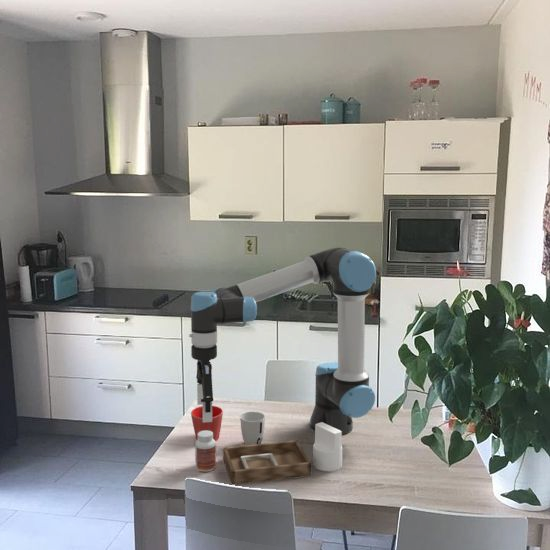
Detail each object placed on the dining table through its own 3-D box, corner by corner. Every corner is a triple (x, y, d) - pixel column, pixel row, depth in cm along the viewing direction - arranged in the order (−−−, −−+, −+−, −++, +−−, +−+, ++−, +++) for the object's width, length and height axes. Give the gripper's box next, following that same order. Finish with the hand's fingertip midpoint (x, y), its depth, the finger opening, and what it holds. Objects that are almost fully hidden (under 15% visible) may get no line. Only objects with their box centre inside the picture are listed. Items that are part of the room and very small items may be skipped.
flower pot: (185, 443, 205) (185, 415, 203) (200, 429, 215) (199, 403, 213) (214, 447, 201) (214, 419, 200) (228, 434, 212) (227, 407, 210)
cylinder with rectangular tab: (306, 463, 192) (307, 426, 189) (327, 454, 197) (328, 419, 195) (327, 474, 185) (328, 436, 183) (348, 465, 191) (349, 428, 188)
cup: (261, 451, 199) (262, 422, 197) (237, 449, 201) (237, 420, 199) (267, 440, 207) (267, 412, 205) (243, 438, 208) (243, 410, 207)
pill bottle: (219, 468, 188) (219, 434, 186) (202, 474, 184) (201, 439, 182) (209, 460, 193) (209, 427, 191) (192, 466, 189) (191, 432, 187)
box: (297, 451, 199) (297, 440, 198) (311, 475, 184) (311, 463, 183) (223, 459, 193) (223, 447, 193) (231, 484, 178) (231, 472, 177)
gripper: (187, 333, 192) (188, 398, 196) (196, 358, 169) (196, 430, 172) (211, 332, 194) (211, 396, 198) (223, 356, 170) (223, 428, 174)
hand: (204, 412), depth 185 cm, fingers open, 13 cm apart
